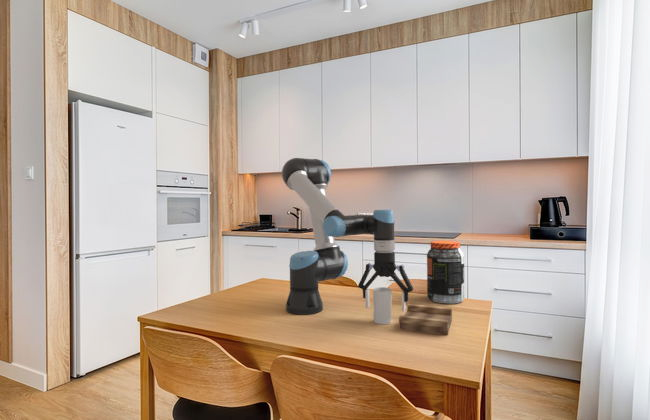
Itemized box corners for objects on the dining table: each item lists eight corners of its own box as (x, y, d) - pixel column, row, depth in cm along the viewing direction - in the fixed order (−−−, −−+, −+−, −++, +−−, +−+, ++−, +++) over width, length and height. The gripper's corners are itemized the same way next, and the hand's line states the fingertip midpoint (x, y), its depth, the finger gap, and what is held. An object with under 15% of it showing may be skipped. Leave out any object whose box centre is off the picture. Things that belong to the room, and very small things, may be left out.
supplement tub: (471, 300, 167) (471, 242, 166) (448, 306, 158) (448, 244, 157) (442, 293, 180) (442, 239, 179) (419, 298, 171) (419, 241, 170)
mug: (385, 326, 135) (385, 292, 135) (369, 322, 139) (369, 289, 139) (399, 318, 143) (399, 287, 142) (383, 315, 147) (383, 284, 147)
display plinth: (399, 329, 131) (399, 316, 131) (408, 315, 147) (408, 303, 147) (447, 335, 125) (447, 322, 125) (451, 320, 141) (451, 308, 141)
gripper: (349, 251, 142) (350, 308, 142) (417, 253, 132) (418, 314, 132) (355, 249, 148) (356, 303, 149) (420, 251, 139) (421, 309, 139)
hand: (385, 308), depth 140 cm, fingers open, 13 cm apart
